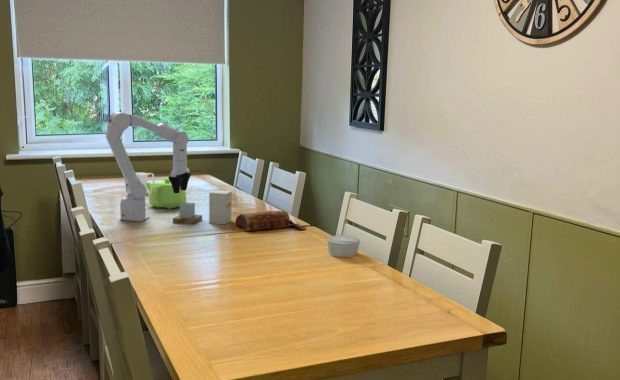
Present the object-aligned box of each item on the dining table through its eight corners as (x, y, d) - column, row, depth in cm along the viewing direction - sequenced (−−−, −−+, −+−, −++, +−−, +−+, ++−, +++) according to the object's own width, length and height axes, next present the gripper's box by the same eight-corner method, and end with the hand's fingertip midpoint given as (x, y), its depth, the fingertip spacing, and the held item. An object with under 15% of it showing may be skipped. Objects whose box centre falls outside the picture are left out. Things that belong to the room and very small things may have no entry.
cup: (157, 193, 303) (156, 173, 301) (133, 194, 297) (133, 175, 295) (152, 190, 310) (152, 171, 308) (129, 192, 304) (128, 172, 302)
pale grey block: (179, 217, 241) (179, 203, 240) (184, 215, 245) (184, 202, 244) (189, 218, 240) (189, 204, 239) (194, 216, 244) (194, 203, 243)
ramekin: (336, 260, 194) (337, 244, 193) (320, 251, 204) (321, 236, 203) (365, 256, 199) (366, 241, 199) (348, 248, 209) (349, 234, 208)
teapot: (133, 207, 266) (132, 179, 264) (160, 200, 285) (160, 173, 282) (167, 212, 259) (167, 182, 257) (193, 204, 278) (193, 177, 276)
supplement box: (226, 224, 239) (226, 193, 237) (208, 223, 241) (208, 192, 239) (232, 220, 246) (232, 190, 244) (215, 219, 248) (215, 189, 246)
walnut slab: (172, 224, 239) (172, 218, 239) (181, 219, 248) (181, 213, 248) (194, 225, 238) (194, 219, 237) (202, 221, 247) (202, 215, 246)
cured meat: (311, 230, 235) (311, 213, 234) (252, 235, 224) (252, 218, 223) (291, 221, 251) (291, 205, 250) (235, 226, 239) (235, 209, 238)
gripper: (182, 162, 241) (182, 195, 243) (195, 158, 255) (195, 189, 257) (165, 161, 242) (166, 194, 245) (179, 157, 256) (180, 188, 259)
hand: (180, 191), depth 251 cm, fingers open, 7 cm apart
